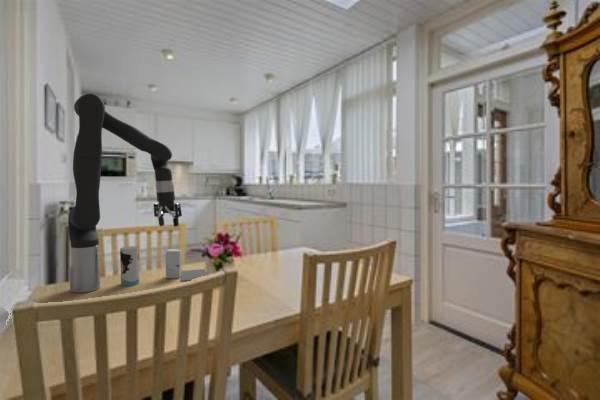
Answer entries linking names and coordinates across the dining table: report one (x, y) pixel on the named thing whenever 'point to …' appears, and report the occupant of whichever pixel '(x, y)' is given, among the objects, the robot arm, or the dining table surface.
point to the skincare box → (173, 263)
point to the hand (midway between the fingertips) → (169, 226)
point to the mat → (192, 274)
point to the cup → (129, 265)
